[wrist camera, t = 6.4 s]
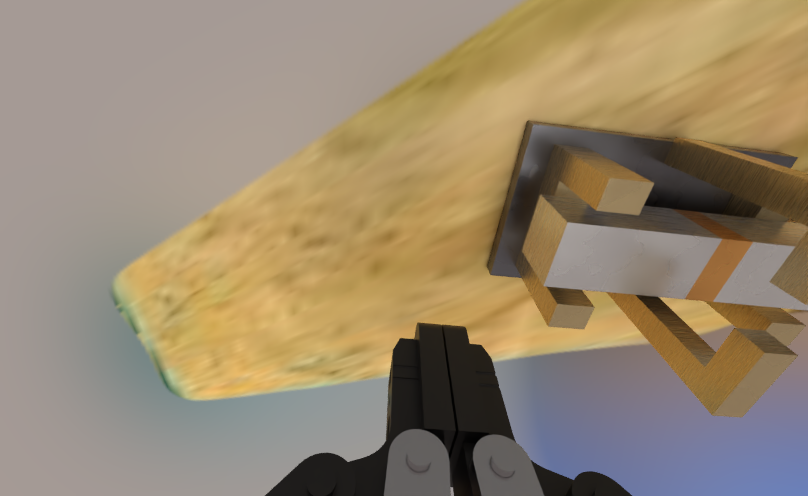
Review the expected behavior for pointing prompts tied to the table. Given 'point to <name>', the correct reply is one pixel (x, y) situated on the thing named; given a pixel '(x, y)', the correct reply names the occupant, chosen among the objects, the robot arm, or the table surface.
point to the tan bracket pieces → (627, 194)
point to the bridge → (798, 276)
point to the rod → (661, 252)
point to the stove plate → (619, 147)
